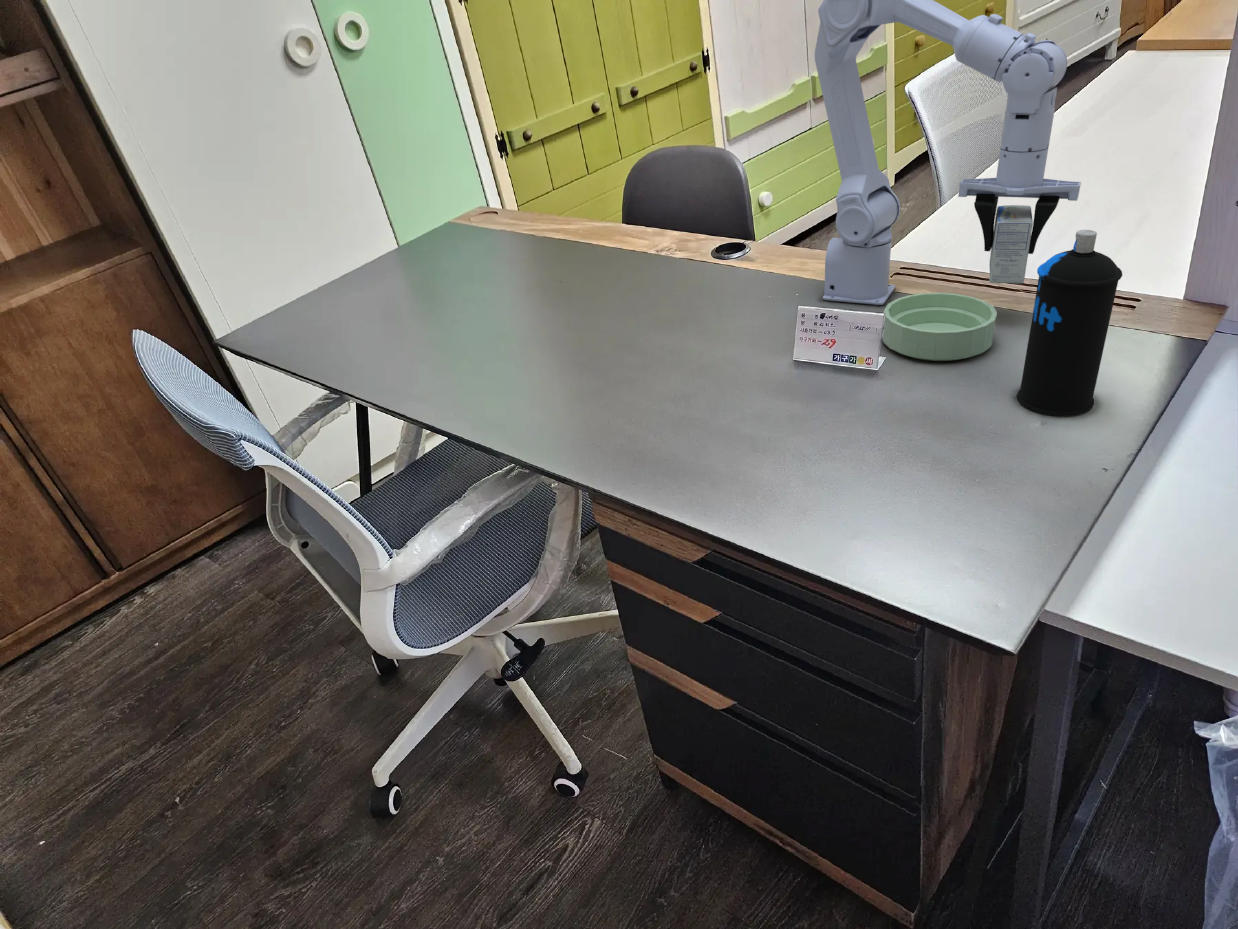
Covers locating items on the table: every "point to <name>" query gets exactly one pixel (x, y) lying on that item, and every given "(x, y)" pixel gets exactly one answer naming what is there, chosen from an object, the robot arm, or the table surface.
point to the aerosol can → (1069, 329)
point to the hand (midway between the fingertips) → (1008, 250)
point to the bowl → (939, 326)
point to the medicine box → (1010, 244)
